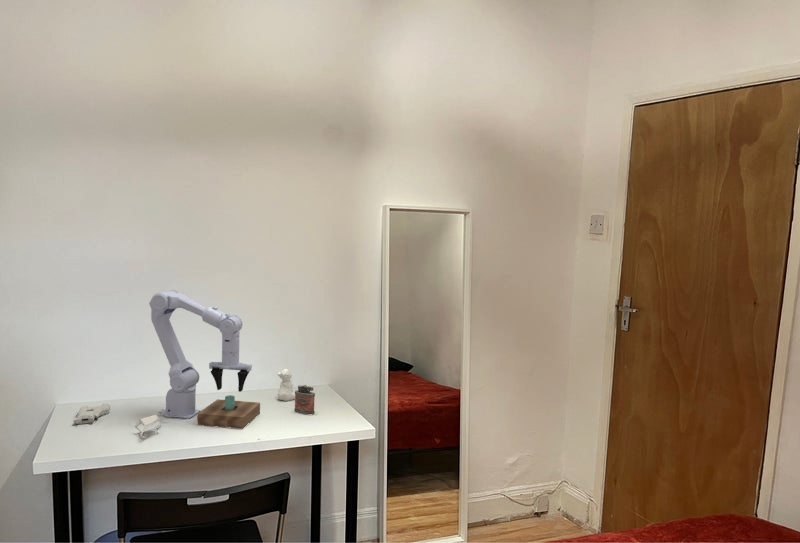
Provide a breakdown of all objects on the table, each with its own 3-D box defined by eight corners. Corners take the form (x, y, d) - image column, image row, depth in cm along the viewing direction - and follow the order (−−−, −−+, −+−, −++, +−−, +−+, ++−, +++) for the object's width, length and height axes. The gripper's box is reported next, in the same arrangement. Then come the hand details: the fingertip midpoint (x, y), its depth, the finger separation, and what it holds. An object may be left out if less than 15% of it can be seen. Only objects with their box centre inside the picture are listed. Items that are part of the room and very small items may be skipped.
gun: (105, 413, 199) (71, 416, 195) (105, 424, 199) (71, 427, 195) (110, 400, 216) (79, 402, 212) (110, 409, 216) (79, 412, 212)
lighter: (292, 412, 218) (293, 385, 217) (297, 409, 221) (298, 382, 220) (311, 415, 215) (312, 388, 214) (316, 412, 218) (317, 386, 217)
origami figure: (134, 429, 195) (134, 415, 194) (162, 427, 197) (162, 413, 197) (130, 443, 183) (130, 428, 183) (160, 441, 186) (160, 426, 186)
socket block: (197, 425, 201) (197, 413, 201) (217, 410, 217) (217, 399, 216) (243, 428, 199) (243, 417, 199) (259, 413, 215) (260, 402, 215)
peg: (223, 420, 207) (223, 397, 206) (226, 417, 210) (227, 395, 209) (232, 421, 206) (232, 398, 205) (235, 417, 209) (236, 395, 209)
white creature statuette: (303, 397, 236) (303, 367, 235) (291, 403, 228) (292, 372, 226) (282, 394, 239) (283, 364, 238) (270, 400, 231) (271, 369, 230)
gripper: (205, 352, 203) (204, 391, 204) (246, 355, 201) (245, 394, 202) (214, 348, 210) (213, 386, 211) (254, 350, 208) (253, 389, 209)
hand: (230, 390), depth 207 cm, fingers open, 7 cm apart
